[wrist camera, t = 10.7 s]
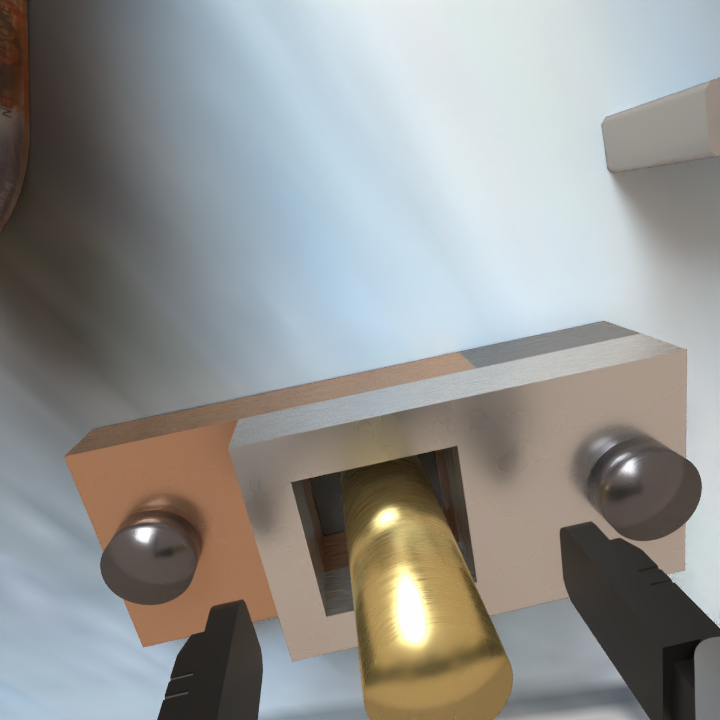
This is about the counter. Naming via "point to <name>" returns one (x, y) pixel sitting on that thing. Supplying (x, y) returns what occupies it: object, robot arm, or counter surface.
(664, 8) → the counter surface
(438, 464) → the door latch
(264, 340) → the counter surface
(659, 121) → the lighter
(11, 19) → the tin
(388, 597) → the pin
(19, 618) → the counter surface
